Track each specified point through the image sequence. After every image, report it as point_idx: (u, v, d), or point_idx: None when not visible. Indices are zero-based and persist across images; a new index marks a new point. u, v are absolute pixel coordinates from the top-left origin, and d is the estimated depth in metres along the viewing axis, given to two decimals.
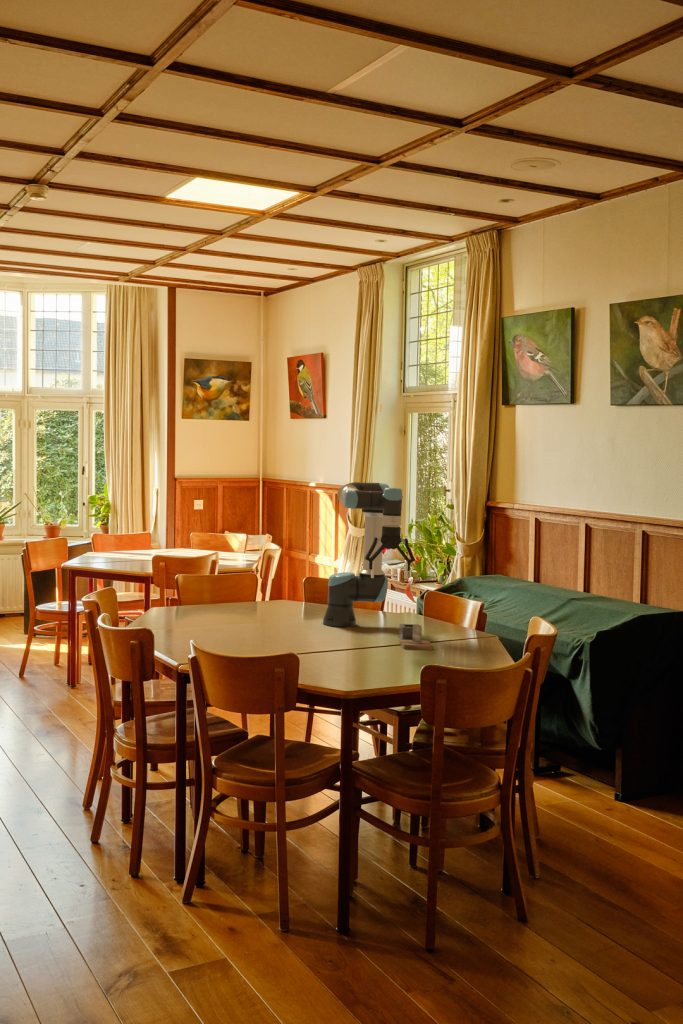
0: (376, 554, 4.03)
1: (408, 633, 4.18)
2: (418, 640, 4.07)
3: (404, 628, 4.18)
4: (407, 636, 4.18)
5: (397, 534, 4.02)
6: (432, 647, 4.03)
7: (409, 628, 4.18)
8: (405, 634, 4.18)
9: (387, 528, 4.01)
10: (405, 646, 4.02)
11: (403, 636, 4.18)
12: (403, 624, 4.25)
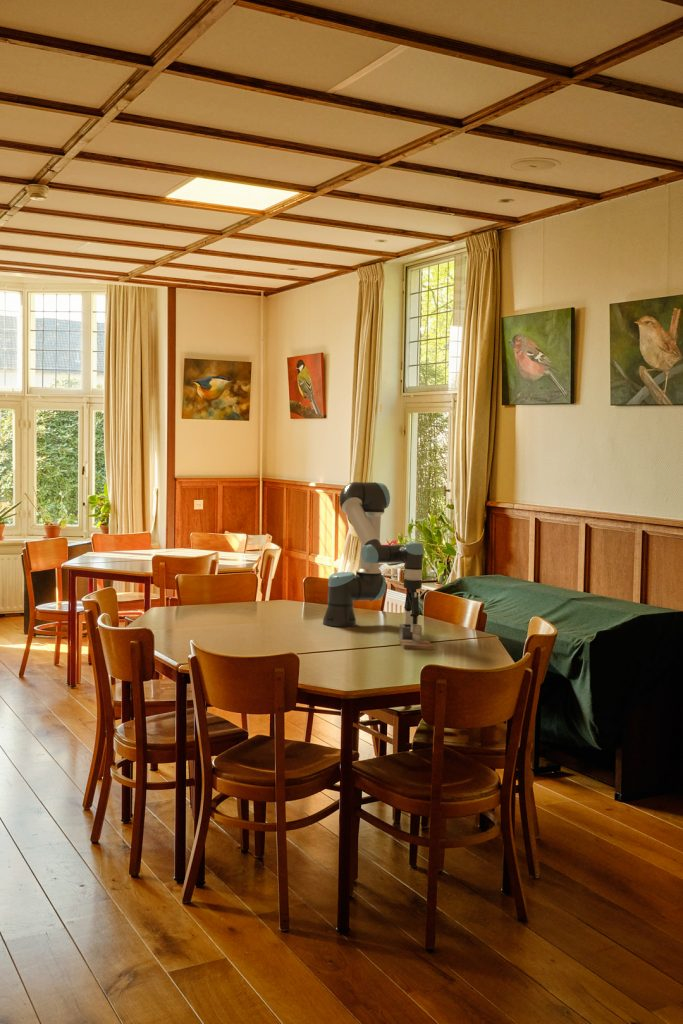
0: (406, 604, 4.27)
1: (408, 633, 4.18)
2: (418, 640, 4.07)
3: (404, 628, 4.18)
4: (407, 636, 4.18)
5: (406, 586, 4.19)
6: (432, 647, 4.03)
7: (409, 628, 4.18)
8: (405, 634, 4.18)
9: None
10: (405, 646, 4.02)
11: (403, 636, 4.18)
12: (403, 624, 4.25)
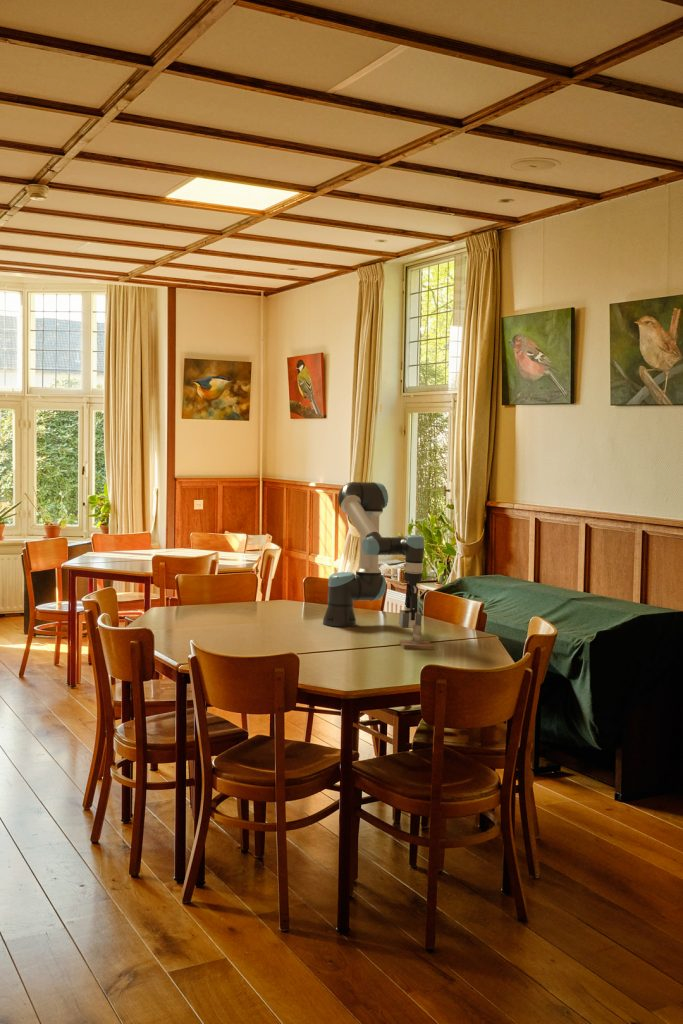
0: (406, 600, 4.26)
1: (408, 620, 4.18)
2: (418, 640, 4.07)
3: (404, 614, 4.18)
4: (407, 622, 4.18)
5: (406, 579, 4.19)
6: (432, 647, 4.03)
7: None
8: (405, 620, 4.18)
9: None
10: (405, 646, 4.02)
11: (403, 622, 4.18)
12: (403, 610, 4.25)
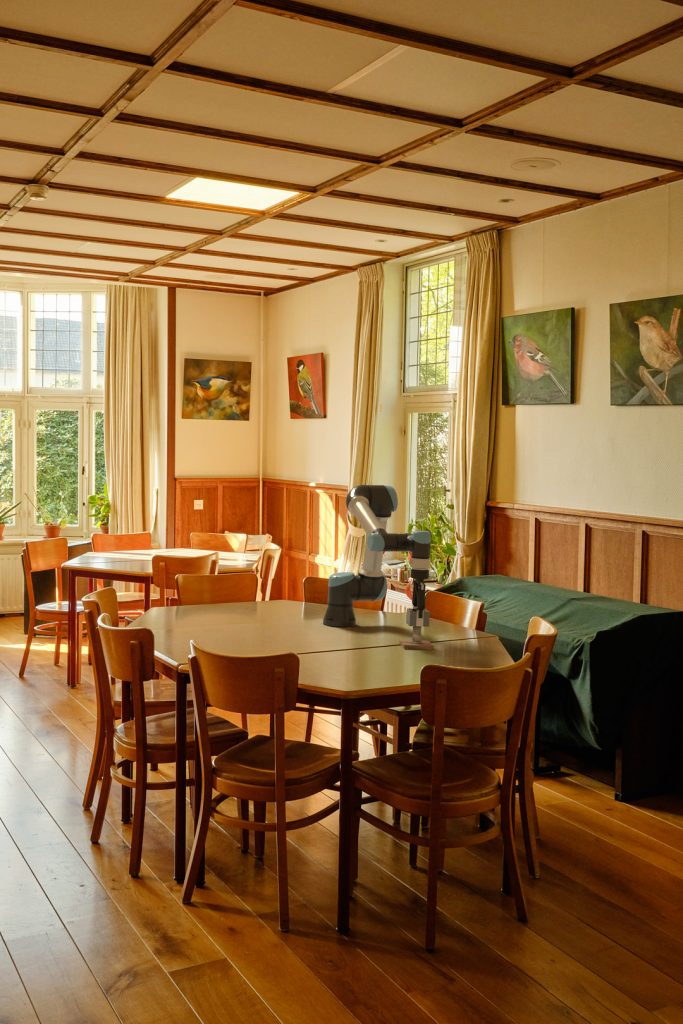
0: (413, 598, 4.11)
1: None
2: (418, 640, 4.07)
3: (411, 612, 4.03)
4: (415, 620, 4.04)
5: (413, 576, 4.04)
6: (432, 647, 4.03)
7: None
8: (412, 618, 4.04)
9: None
10: (405, 646, 4.02)
11: (410, 620, 4.04)
12: None
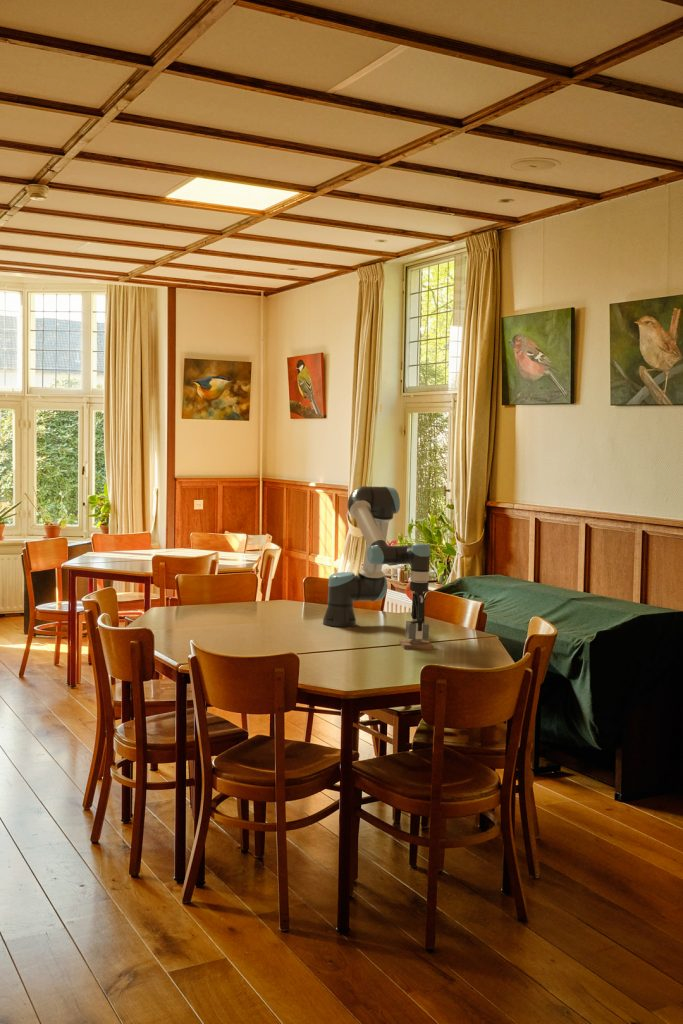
0: (413, 610, 4.12)
1: (415, 630, 4.04)
2: (418, 640, 4.07)
3: (411, 625, 4.04)
4: (414, 633, 4.04)
5: (412, 589, 4.05)
6: (432, 647, 4.03)
7: None
8: (412, 631, 4.04)
9: None
10: (405, 646, 4.02)
11: (410, 633, 4.04)
12: (410, 621, 4.11)
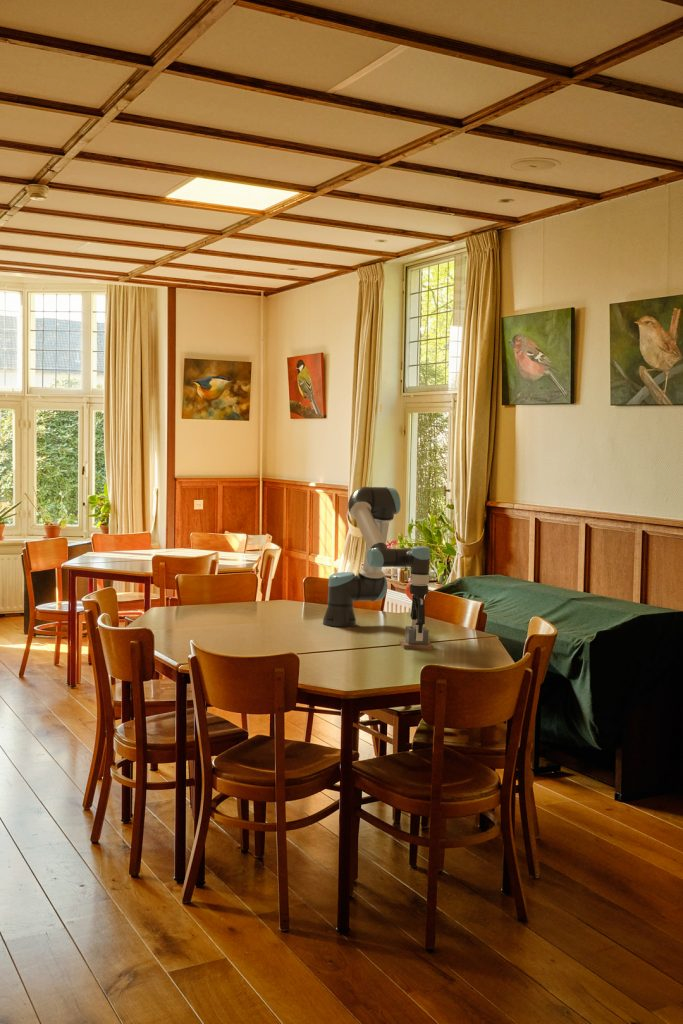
0: (412, 612, 4.13)
1: (415, 636, 4.04)
2: None
3: (410, 631, 4.04)
4: (414, 638, 4.04)
5: (412, 592, 4.05)
6: (432, 647, 4.03)
7: None
8: (411, 637, 4.04)
9: None
10: (405, 646, 4.02)
11: (409, 639, 4.04)
12: (409, 626, 4.11)
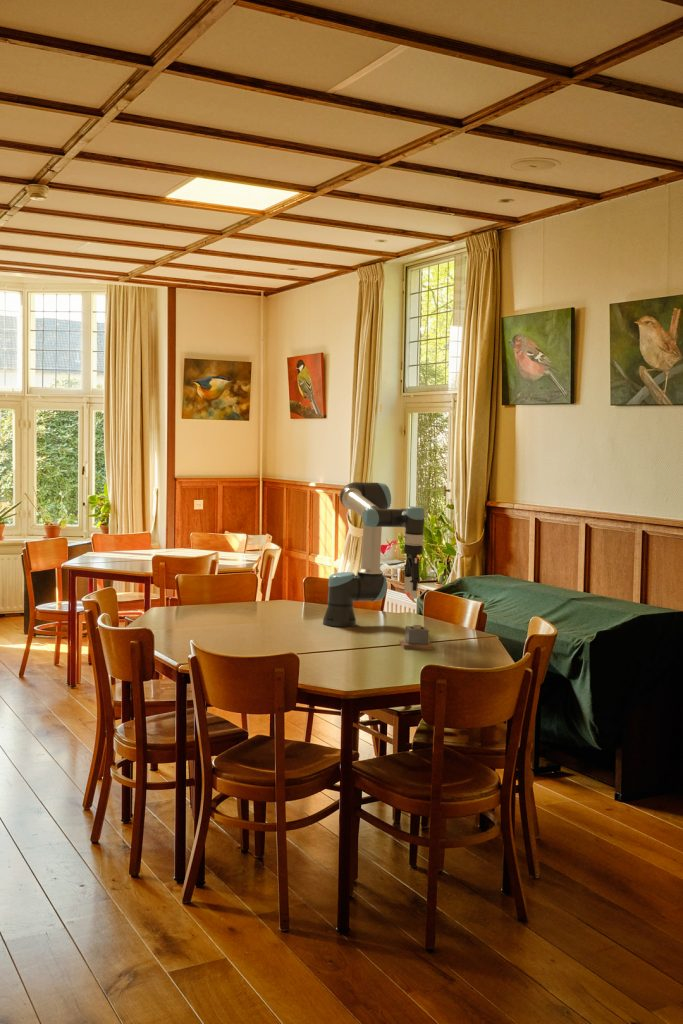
0: (406, 570, 4.17)
1: (415, 636, 4.04)
2: None
3: (410, 631, 4.04)
4: (414, 638, 4.04)
5: (406, 552, 4.09)
6: (432, 647, 4.03)
7: (416, 630, 4.04)
8: (411, 637, 4.04)
9: None
10: (405, 646, 4.02)
11: (409, 639, 4.04)
12: (409, 626, 4.11)
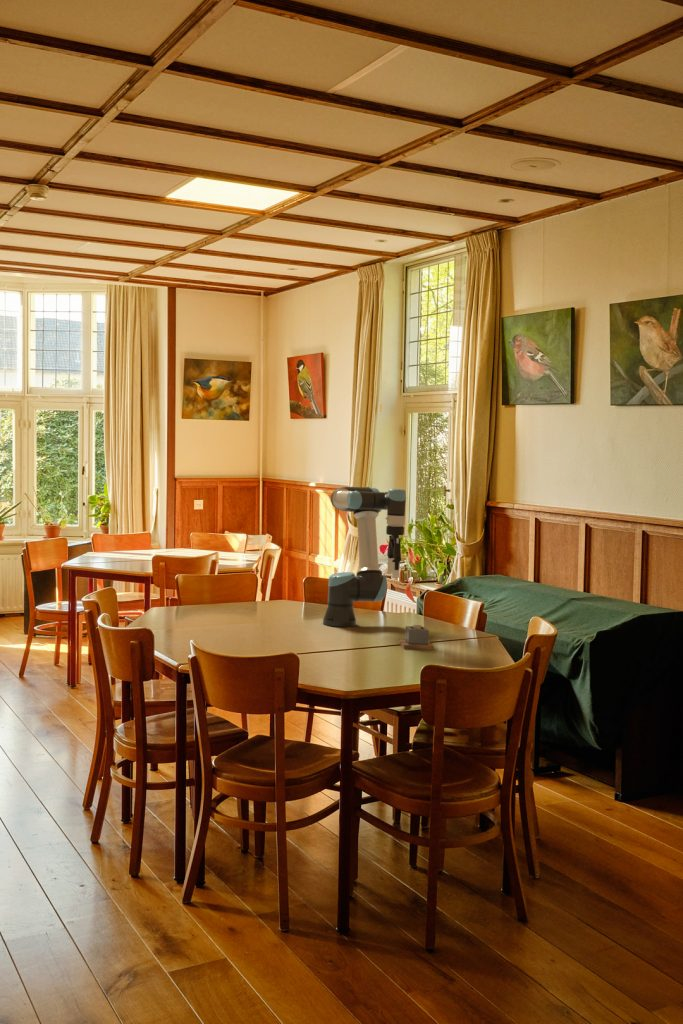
0: (389, 551, 4.28)
1: (415, 636, 4.04)
2: None
3: (410, 631, 4.04)
4: (414, 638, 4.04)
5: (388, 533, 4.19)
6: (432, 647, 4.03)
7: (416, 630, 4.04)
8: (411, 637, 4.04)
9: None
10: (405, 646, 4.02)
11: (409, 639, 4.04)
12: (409, 626, 4.11)
